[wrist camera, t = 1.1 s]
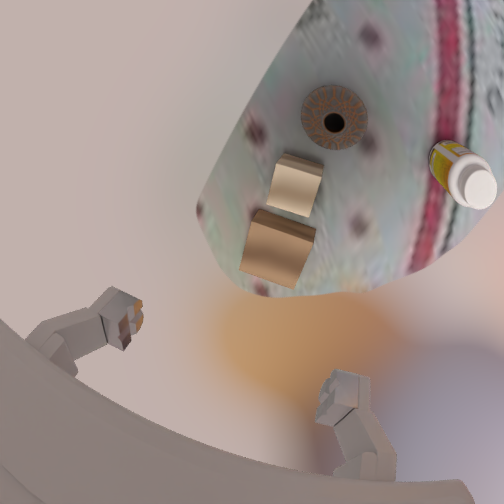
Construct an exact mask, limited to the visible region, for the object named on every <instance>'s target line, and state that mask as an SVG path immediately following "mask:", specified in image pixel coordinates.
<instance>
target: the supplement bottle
mask: <svg viewBox="0 0 504 504" xmlns="http://www.w3.org/2000/svg"><path fill="white" fill-rule="evenodd" d="M429 168H430V171H431V173H432V175H433V176H434V177H435V178H436V180H437V181H438V182H439V183H440V184H441V185H442V186H443V187H444V188H445V189H446V190H447V192H448V193H449V194H450V195H451V196H452V197H453V198H454V200H455V201H457V202H458V203H459V204H461V205H462V206H465V207H472V208H474V209H484V208H487V207H488V206H489V205H491V203H492V202H493V201H494V199H495V197H496V193H497V183H496V180H495V178H494V176H493V175H492V171H491V168H490V166H489V164H488V163H487V162H486V161H485V160H484V159H483V158H482V157H480V156H479V155H477V154H476V153H474V152H472V151H471V150H469V149H467V148H465V147H464V146H462V145H460V144H458V143H457V142H454V141H451V140H444V141H441V142H439V143H437V144H436V145H435V146H434V147H433V149H432V150H431V152H430V155H429Z"/></svg>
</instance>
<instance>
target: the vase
mask: <svg viewBox="0 0 504 504" xmlns="http://www.w3.org/2000/svg"><path fill="white" fill-rule="evenodd" d="M301 121H302V125H303V128H304V130H305V132H306V133H307V135H308V136H309V137H310V139H311V140H313V141H314V142H315V143H316V144H318V145H320V146H322V147H324V148H327V149H332V150H341V149H346V148H349V147H351V146H353V145H355V144H356V143H357V142H358V141H359V140H360V139H361V138H362V137H363V135H364V133H365V131H366V128H367V123H368V116H367V111H366V108H365V106H364V104H363V102H362V101H361V99H360V98H359V97H358V96H357V95H356V94H355V93H354V92H352V91H351V90H349V89H347V88H345V87H342V86H337V85H328V86H323V87H320V88H318V89H316V90H314V91H313V92H312V93H311V94H309V96H308V97H307V98H306V99H305V101H304V103H303V106H302V110H301Z"/></svg>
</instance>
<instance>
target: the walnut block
mask: <svg viewBox="0 0 504 504" xmlns="http://www.w3.org/2000/svg"><path fill="white" fill-rule="evenodd" d="M315 231H316V229H315V228H312V227H309V226H307V225H304V224H301V223H298V222H295V221H293V220H290V219H287V218H284V217H281V216H278V215H275V214H272V213H269V212H267V211H264V210H261V209H259V210H258V212H257V213H256V215H255V217H254V218H253V220H252V222H251V225H250V229H249V233H248V237H247V241H246V245H245V248H244V252H243V256H242V260H241V264H240V268H239V270H240V271H243V272H246V273H249V274H251V275H254V276H257V277H260V278H263V279H265V280H268V281H271V282H274V283H276V284H279V285H282V286H285V287H288V288H291V289H293V290H294V287H295V285H296V283H297V280H298V278H299V276H300V274H301V271H302V269H303V267H304V264H305V262H306V260H307V257H308V255H309V252H310V250H311V248H312V245H313V243H314V237H315Z"/></svg>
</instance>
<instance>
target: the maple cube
mask: <svg viewBox="0 0 504 504" xmlns="http://www.w3.org/2000/svg"><path fill="white" fill-rule="evenodd" d="M323 167H324V165H321V164H318V163H315V162H312V161H308V160H305V159H302V158H299V157H295V156H292V155H289V154H285V153H284V154H283V155H282V157H281V158H280V159H279V160H278V162H277V163H276V166H275V170H274V174H273V178H272V183H271V187H270V191H269V195H268V199H267V203H266V204H267V205H270V206H273V207H277V208H280V209H283V210H286V211H289V212H292V213H296V214H299V215H302V216H305V217H308V218H309V215H310V212H311V209H312V206H313V203H314V200H315V197H316V194H317V191H318V187H319V184H320V181H321V178H322V173H323Z"/></svg>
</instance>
